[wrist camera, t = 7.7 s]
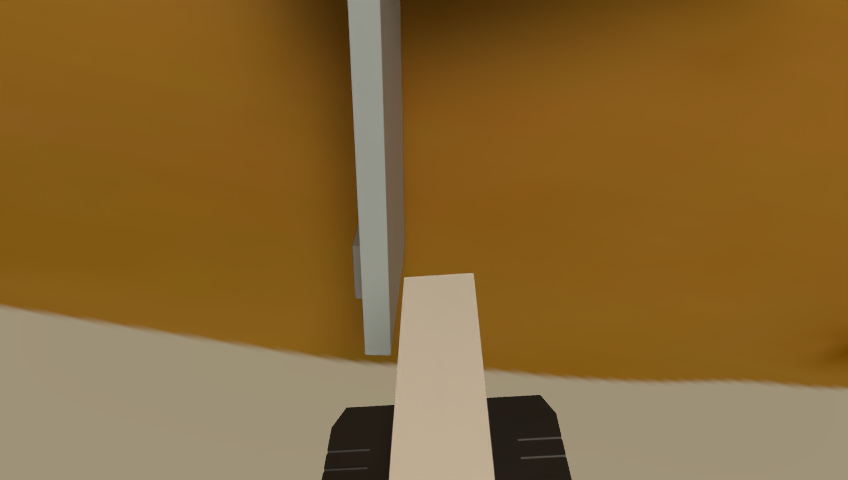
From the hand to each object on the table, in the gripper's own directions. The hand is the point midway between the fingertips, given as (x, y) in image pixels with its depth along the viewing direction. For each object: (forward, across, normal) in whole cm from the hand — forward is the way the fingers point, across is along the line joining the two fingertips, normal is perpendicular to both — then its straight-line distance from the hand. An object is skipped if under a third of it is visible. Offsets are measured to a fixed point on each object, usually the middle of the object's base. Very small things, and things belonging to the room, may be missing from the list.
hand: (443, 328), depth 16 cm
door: (+13, -2, +2) cm, 13 cm away
